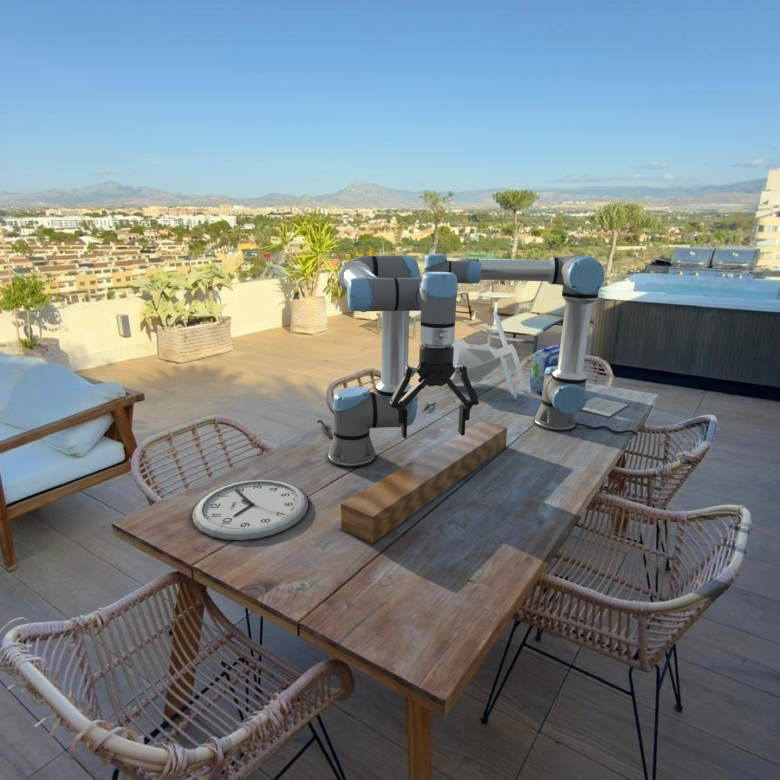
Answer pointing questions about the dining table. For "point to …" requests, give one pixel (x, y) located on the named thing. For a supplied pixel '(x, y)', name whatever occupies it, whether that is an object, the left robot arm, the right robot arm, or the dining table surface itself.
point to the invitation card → (603, 406)
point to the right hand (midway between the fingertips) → (431, 358)
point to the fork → (430, 403)
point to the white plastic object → (487, 360)
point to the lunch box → (542, 366)
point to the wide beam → (419, 482)
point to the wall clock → (250, 510)
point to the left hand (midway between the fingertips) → (432, 434)
